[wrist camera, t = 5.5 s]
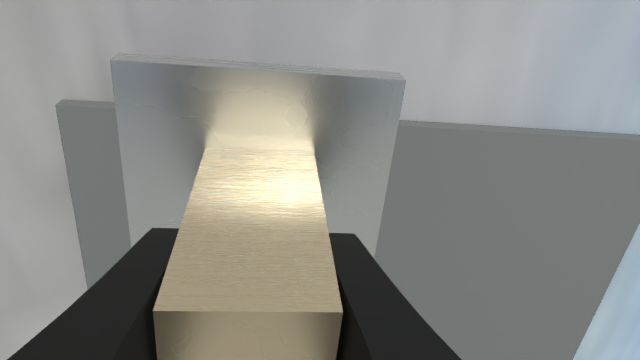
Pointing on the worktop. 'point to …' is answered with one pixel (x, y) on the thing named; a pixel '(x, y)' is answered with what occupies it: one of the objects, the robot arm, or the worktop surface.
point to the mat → (445, 225)
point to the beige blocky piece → (252, 195)
